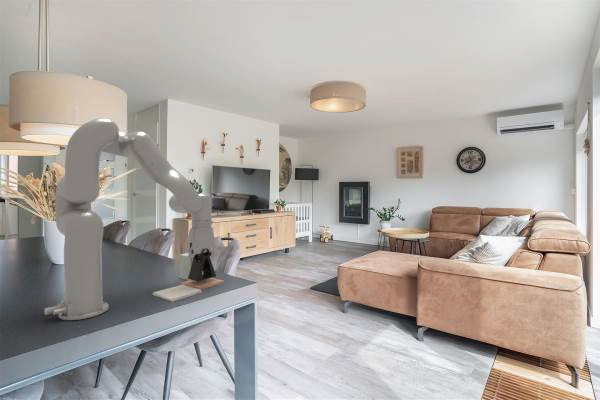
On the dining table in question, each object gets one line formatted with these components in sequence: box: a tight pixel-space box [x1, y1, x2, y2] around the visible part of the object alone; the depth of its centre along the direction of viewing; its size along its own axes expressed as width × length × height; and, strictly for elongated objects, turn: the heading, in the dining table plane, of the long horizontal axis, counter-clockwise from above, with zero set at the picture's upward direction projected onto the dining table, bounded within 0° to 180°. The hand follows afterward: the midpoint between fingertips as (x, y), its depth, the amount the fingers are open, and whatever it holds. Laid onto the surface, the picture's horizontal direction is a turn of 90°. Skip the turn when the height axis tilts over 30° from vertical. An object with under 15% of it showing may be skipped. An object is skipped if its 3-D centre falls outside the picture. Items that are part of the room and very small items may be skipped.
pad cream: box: [152, 284, 203, 302], centre depth 114 cm, size 12×12×1 cm
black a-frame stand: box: [188, 249, 217, 282], centre depth 126 cm, size 9×6×12 cm, turn 142°
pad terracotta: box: [179, 277, 225, 290], centre depth 126 cm, size 12×12×1 cm
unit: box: [178, 252, 203, 281], centre depth 135 cm, size 7×8×11 cm
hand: (202, 270), depth 126 cm, fingers closed on black a-frame stand
